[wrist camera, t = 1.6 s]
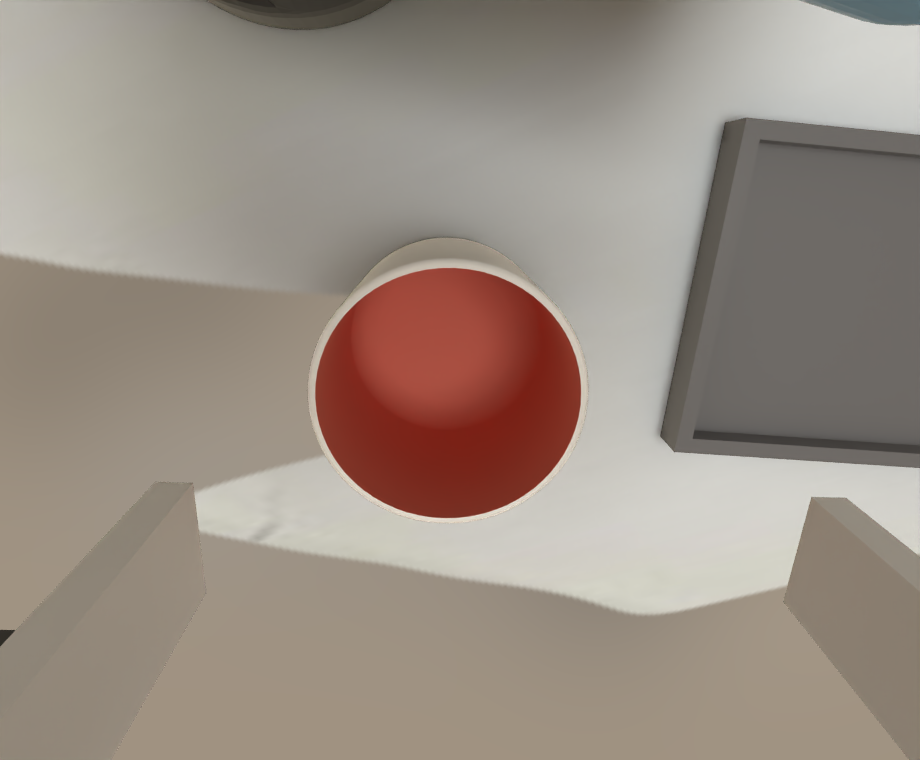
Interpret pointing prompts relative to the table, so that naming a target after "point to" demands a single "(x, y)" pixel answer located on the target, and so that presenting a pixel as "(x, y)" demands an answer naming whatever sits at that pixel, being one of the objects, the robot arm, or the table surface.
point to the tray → (805, 300)
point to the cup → (447, 384)
